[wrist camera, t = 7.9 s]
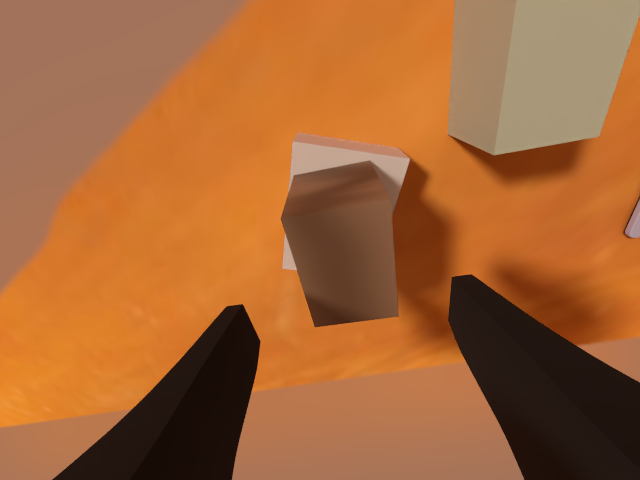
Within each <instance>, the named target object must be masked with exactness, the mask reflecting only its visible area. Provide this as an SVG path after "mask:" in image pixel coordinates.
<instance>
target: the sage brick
mask: <svg viewBox="0 0 640 480" xmlns="http://www.w3.org/2000/svg"><path fill="white" fill-rule="evenodd" d="M639 16H640V0H455V9H454V27H453V45H452V64H451V82H450V100H449V119H448V135H450V136H453V137H455V138H457V139H459V140H461V141H464V142H466V143H468V144H470V145H472V146H474V147H477V148H479V149H481V150H483V151H485V152H488V153H490V154H492V155H499V154H505V153H510V152H516V151H522V150H527V149H533V148H538V147H544V146H550V145H555V144H561V143H567V142H572V141H578V140H583V139H589V138H595V137H599V135H600V132H601V129H602V126H603V123H604V120H605V117H606V114H607V111H608V108H609V105H610V102H611V99H612V96H613V93H614V90H615V87H616V84H617V81H618V78H619V75H620V72H621V69H622V66H623V63H624V60H625V57H626V54H627V52H628V49H629V46H630V43H631V40H632V37H633V34H634V31H635V28H636V25H637V22H638V19H639Z"/></svg>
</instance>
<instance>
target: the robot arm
mask: <svg viewBox="0 0 640 480" xmlns="http://www.w3.org/2000/svg"><path fill="white" fill-rule="evenodd" d="M625 234H626V235H627V236H629V237H631V238H637V237H640V199H639V202H638V204H637V206H636V208H635V210H634V212H633V215H632V217H631V219H630V221H629V223H628V225H627V228H626V230H625ZM448 321H449V323H450V326H451V329H452V331H453V334H454V336H455V339H456V341H457V344H458V346H459V349H460V351H461V353H462V355H463V357H464V359H465V360H466V362H467V364H468V366H469V368H470V370H471V372H472V374H473V376H474V377H475V379H476V381H477V383H478V385H479V387H480V388H481V390H482V392H483V394H484V396H485V398H486V400H487V402H488V404H489V405H490V407H491V409H492V411H493V413H494V415H495V416H496V418H497V420H498V422H499V424H500V426H501V428H502V430H503V432H504V434H505V436H506V438H507V440H508V443H509V445H510V447H511V449H512V452H513V454H514V456H515V459H516V461H517V463H518V466H519V468H520V470H521V473H522V475H523V477H524V480H640V383H639V382H638V381H636V380H634V379H632V378H630V377H629V376H627V375H625V374H623V373H622V372H620V371H618V370H616V369H614V368H612V367H611V366H609V365H607V364H606V363H604V362H602V361H600V360H599V359H597V358H595V357H594V356H592V355H590V354H589V353H587V352H585V351H584V350H582V349H581V348H579V347H577V346H576V345H574V344H573V343H571V342H569V341H568V340H566V339H565V338H563V337H561V336H560V335H558V334H557V333H555V332H554V331H552V330H550V329H549V328H547V327H546V326H544V325H543V324H541V323H540V322H538V321H537V320H535V319H534V318H532V317H531V316H529V315H528V314H527V313H525V312H524V311H522V310H521V309H519V308H518V307H516V306H515V305H514V304H512V303H511V302H509V301H508V300H507V299H505V298H504V297H502V296H501V295H500V294H498V293H497V292H495V291H494V290H493V289H491V288H490V287H488V286H487V285H486V284H484V283H483V282H482V281H480V280H479V279H477V278H476V277H475V276H473V275H472V274H471V275H463V276H455V277H452V282H451V294H450V306H449V318H448ZM259 348H260V340H259V338H258V335H257V333H256V331H255V329H254V327H253V325H252V323H251V321H250V318H249V316H248V314H247V312H246V310H245V308H244V306H243V304H241V305H233V306H227V307H226V308H225V309H224V310H223V311H222V312H221V313H220V314H219V316H218V317H217V318H216V319H215V320H214V321H213V323H212V324H211V325H210V326H209V327H208V328H207V330H206V331H205V332H204V333H203V334H202V335H201V337H200V338H199V339H198V340H197V341H196V342H195V343H194V345H193V346H192V347H191V348H190V349H189V350H188V351H187V353H186V354H185V355H184V356H183V357H182V358H181V359H180V360H179V362H178V363H177V364H176V365H175V366H174V367H173V368H172V369H171V370H170V371H169V372H168V373H167V374H166V375H165V376H164V377H163V379H162V380H161V381H160V382H159V383H158V384H157V385H156V386H155V387H154V388H153V389H152V390H151V391H150V392H149V393H148V394H147V395H146V396H145V397H144V398H143V399H142V400H141V401H140V402H139V403H138V404H137V405H136V406H135V407H134V408H133V409H132V410H131V411H130V412H129V413H128V414H127V415H126V416H125V417H124V418H123V419H121V421H119V422H118V423H117V424H116V425H115V426H114V427H113V428H112V429H111V430H110V431H108V432H107V434H105V435H104V436H103V437H102V438H101V439H99V440H98V441H97V442H96V443H95V444H94V445H93V446H91V447H90V448H89V449H88V450H87V451H86V452H84V453H83V454H82V455H81V456H80V457H79V458H78V459H76V460H75V461H74V462H73V463H72V464H70V465H69V466H68V467H67V468H66V469H65V470H63V471H62V472H61V473H60V474H59V475H58V476H56V477H55V478H54V479H53V480H232V475H233V468H234V462H235V457H236V452H237V447H238V443H239V438H240V435H241V431H242V426H243V423H244V419H245V415H246V411H247V407H248V403H249V399H250V395H251V391H252V387H253V383H254V379H255V375H256V371H257V364H258V357H259Z"/></svg>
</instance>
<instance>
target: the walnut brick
mask: <svg viewBox="0 0 640 480" xmlns="http://www.w3.org/2000/svg"><path fill="white" fill-rule="evenodd" d="M281 221H282V224H283V227H284V230H285V233H286V237H287V240H288V243H289V246H290V249H291V253H292V256H293V259H294V262H295V265H296V268H297V272H298V275H299V278H300V281H301V284H302V288H303V291H304V294H305V297H306V300H307V304H308V307H309V310H310V313H311V316H312V319H313V323H314V326H315V327H320V326H328V325H336V324H343V323H351V322H359V321H367V320H375V319H382V318H390V317H398V316H399V314H398V299H397V285H396V270H395V255H394V241H393V226H392V211H391V199H390V197H389V195H388V193H387V191H386V189H385V188H384V186H383V184H382V182H381V180H380V178H379V177H378V175H377V173H376V171H375V169H374V167H373V166H372V164H371V162H370V160H369V161H364V162H359V163H354V164H349V165H344V166H339V167H334V168H328V169H323V170H318V171H313V172H308V173H303V174H298V175H294V177H293V180H292V183H291V187H290V190H289V193H288V197H287V200H286V203H285V206H284V210H283V213H282V216H281Z"/></svg>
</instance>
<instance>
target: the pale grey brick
mask: <svg viewBox="0 0 640 480" xmlns="http://www.w3.org/2000/svg"><path fill="white" fill-rule="evenodd" d="M369 160H370V162H371V164H372V166H373V167H374V169H375V171H376V173H377V175H378V177H379V178H380V180H381V182H382V184H383V186H384V188H385V189H386V191H387V193H388V195H389V197H390V199H391V211H392V215H393V212H394V209H395V206H396V202H397V199H398V196H399V193H400V190H401V187H402V183H403V180H404V177H405V174H406V171H407V168H408V164H409V161H410V158H409V157H408V156H406V155H405V154H404V153H403V152H402V151H401V150H400V149H399V148H397V147H391V146H384V145H378V144H371V143H365V142H358V141H352V140H345V139H339V138H332V137H325V136H319V135H312V134H306V133H299V132H297V134H296V136H295V138H294V140H293V148H292V159H291V171H290V183H289V190H290V187H291V183H292V180H293V177H294V175H298V174H303V173H308V172H313V171H318V170H323V169H328V168H334V167H339V166H344V165H349V164H354V163H359V162H364V161H369ZM282 269H290V270H297V268H296V265H295V262H294V259H293V256H292V253H291V249H290V246H289V243H288V240H287V237H286V233H285V242H284V254H283V266H282Z"/></svg>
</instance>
